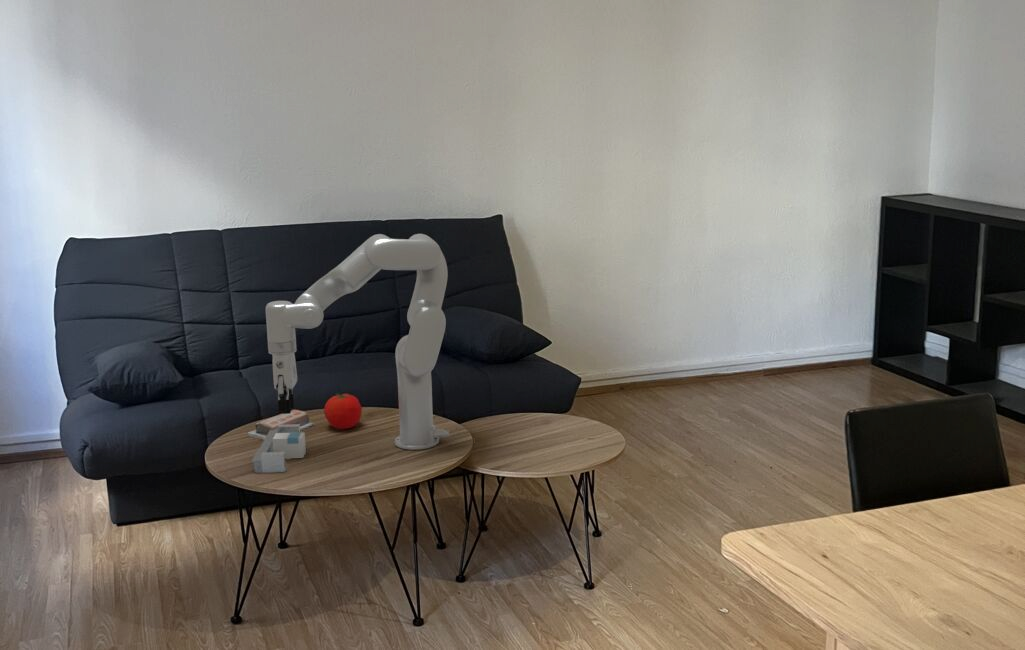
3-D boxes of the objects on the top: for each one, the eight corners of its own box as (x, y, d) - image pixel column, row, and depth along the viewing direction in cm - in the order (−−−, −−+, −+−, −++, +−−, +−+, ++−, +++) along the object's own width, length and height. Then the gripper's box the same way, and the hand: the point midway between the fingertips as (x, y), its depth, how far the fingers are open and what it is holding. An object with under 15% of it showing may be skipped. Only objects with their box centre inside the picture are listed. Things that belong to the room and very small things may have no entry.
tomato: (367, 420, 332) (365, 388, 330) (356, 433, 320) (355, 400, 317) (331, 420, 333) (329, 388, 331) (319, 433, 321) (317, 400, 319)
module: (306, 452, 305) (304, 432, 303) (303, 458, 300) (301, 437, 298) (277, 453, 304) (275, 432, 303) (274, 459, 299) (272, 438, 298)
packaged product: (290, 406, 333) (314, 411, 328) (290, 421, 334) (314, 426, 329) (246, 422, 318) (270, 427, 313) (247, 437, 319) (271, 443, 314)
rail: (300, 440, 314) (299, 424, 313) (284, 472, 289) (283, 454, 288) (271, 441, 314) (269, 425, 313) (252, 473, 289) (251, 455, 288)
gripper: (290, 353, 287) (295, 419, 291) (301, 339, 303) (305, 401, 307) (262, 354, 287) (267, 420, 291) (274, 339, 303) (278, 402, 307)
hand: (286, 410), depth 299 cm, fingers open, 4 cm apart
